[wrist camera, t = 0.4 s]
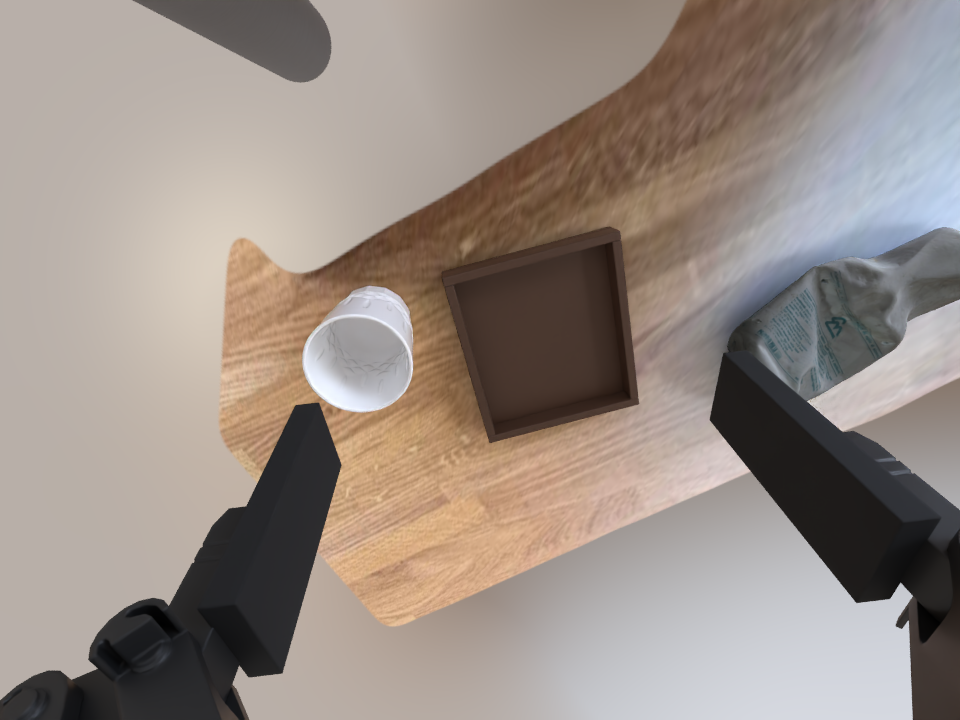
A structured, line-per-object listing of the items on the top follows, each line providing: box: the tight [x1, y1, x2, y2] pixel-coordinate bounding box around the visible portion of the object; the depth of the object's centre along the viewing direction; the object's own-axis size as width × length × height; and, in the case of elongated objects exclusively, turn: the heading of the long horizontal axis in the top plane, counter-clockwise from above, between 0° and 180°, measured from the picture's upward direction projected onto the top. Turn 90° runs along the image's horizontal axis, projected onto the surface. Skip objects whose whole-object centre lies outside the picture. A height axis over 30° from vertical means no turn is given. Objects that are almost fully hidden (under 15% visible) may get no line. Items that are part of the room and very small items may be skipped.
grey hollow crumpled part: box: [727, 227, 960, 401], centre depth 42 cm, size 13×7×25 cm
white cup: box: [302, 286, 413, 412], centre depth 37 cm, size 8×8×10 cm
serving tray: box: [442, 227, 639, 443], centre depth 43 cm, size 18×16×2 cm
